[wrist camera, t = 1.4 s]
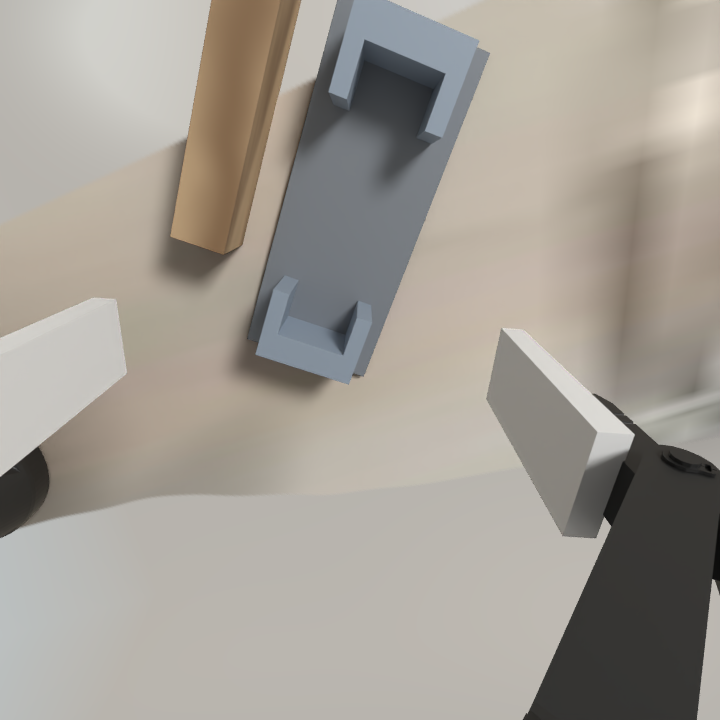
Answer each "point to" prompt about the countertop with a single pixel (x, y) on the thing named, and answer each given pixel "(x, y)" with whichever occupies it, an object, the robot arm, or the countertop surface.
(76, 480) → the countertop surface
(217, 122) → the brown long rectangular block
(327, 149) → the endcap rail
